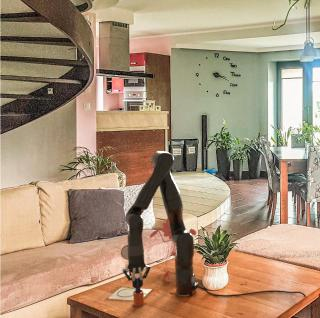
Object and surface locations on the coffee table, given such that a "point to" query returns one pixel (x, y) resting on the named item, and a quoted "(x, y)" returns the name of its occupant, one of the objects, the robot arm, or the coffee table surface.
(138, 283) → the marker
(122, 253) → the magnifying glass
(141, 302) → the pen cup
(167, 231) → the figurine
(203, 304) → the coffee table surface
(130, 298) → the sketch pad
